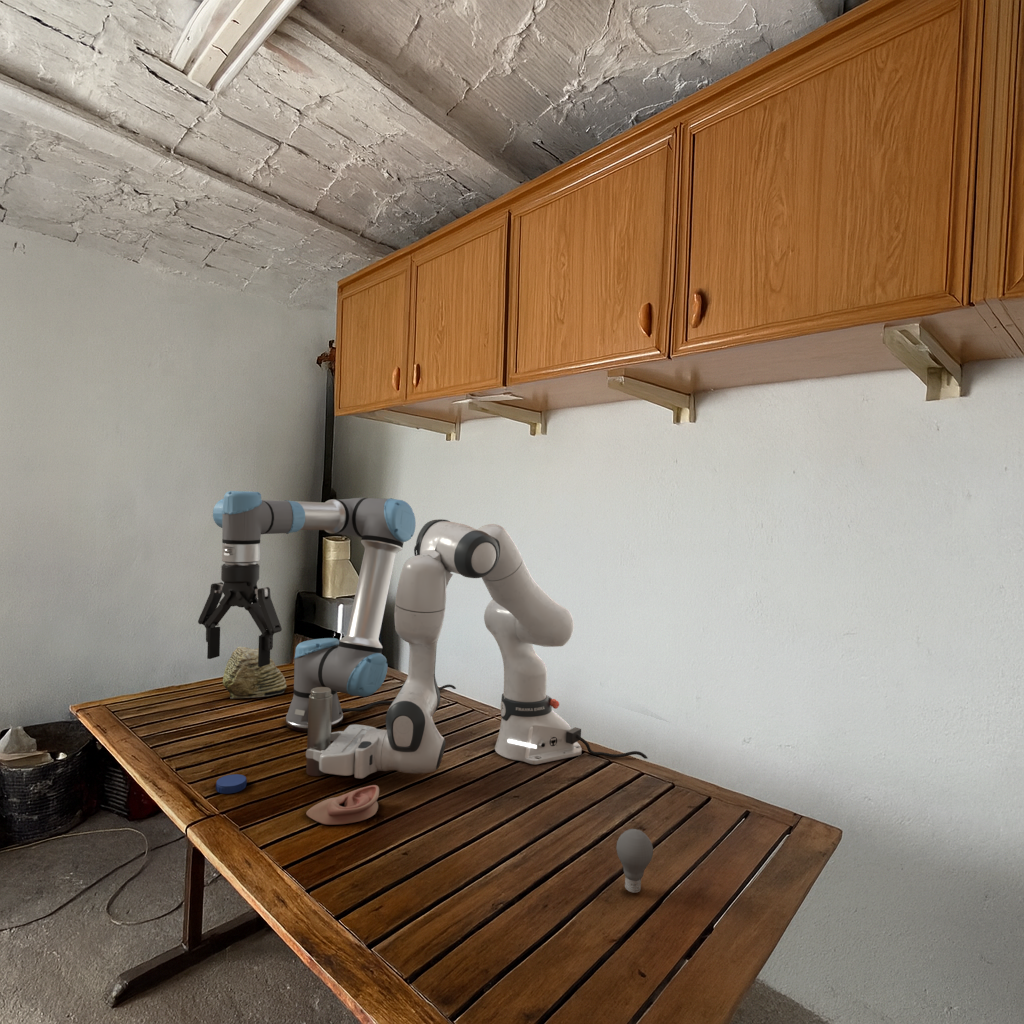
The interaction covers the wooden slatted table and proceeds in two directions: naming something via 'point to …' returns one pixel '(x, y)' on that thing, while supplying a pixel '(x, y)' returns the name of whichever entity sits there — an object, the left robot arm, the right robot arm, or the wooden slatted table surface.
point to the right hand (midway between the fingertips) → (315, 744)
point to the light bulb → (634, 857)
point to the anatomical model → (347, 807)
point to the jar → (319, 725)
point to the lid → (231, 783)
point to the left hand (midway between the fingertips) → (238, 661)
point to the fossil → (251, 676)
